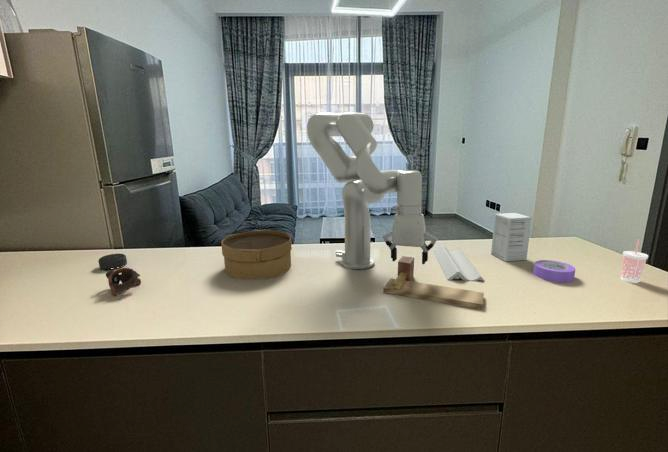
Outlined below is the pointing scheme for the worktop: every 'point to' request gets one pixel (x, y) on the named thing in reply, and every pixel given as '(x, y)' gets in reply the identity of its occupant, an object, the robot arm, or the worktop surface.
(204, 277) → the worktop surface
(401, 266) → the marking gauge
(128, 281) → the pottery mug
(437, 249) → the crown molding
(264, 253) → the steamer basket
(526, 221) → the supplement box
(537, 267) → the masking tape
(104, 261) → the smart speaker
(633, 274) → the beverage cup
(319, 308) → the worktop surface
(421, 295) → the oak board
